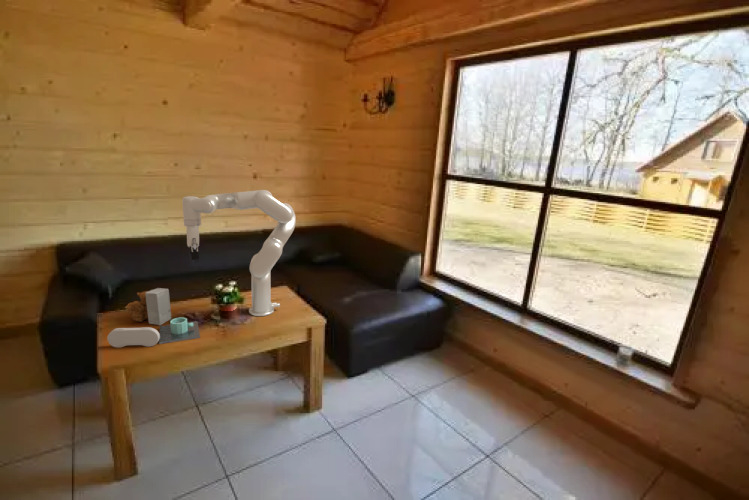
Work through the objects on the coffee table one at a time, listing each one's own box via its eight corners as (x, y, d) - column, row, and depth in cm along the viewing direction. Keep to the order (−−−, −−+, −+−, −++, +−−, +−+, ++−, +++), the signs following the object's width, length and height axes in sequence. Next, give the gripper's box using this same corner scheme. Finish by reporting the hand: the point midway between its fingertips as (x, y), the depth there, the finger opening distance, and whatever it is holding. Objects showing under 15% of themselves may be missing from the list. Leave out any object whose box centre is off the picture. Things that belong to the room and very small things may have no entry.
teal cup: (171, 328, 176) (170, 318, 174) (193, 325, 180) (192, 315, 179) (171, 335, 170) (170, 324, 169) (193, 331, 174) (193, 321, 173)
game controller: (161, 343, 165) (159, 326, 162) (159, 346, 162) (157, 328, 160) (110, 345, 161) (108, 327, 159) (108, 348, 159) (105, 330, 157)
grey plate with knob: (197, 322, 185) (196, 313, 184) (199, 337, 171) (199, 327, 170) (159, 328, 178) (158, 318, 176) (159, 344, 164) (158, 333, 163)
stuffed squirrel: (164, 315, 191) (162, 290, 188) (138, 326, 178) (136, 300, 175) (150, 311, 194) (147, 286, 191) (123, 321, 182) (120, 296, 178)
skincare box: (160, 325, 180) (157, 294, 176) (146, 323, 181) (143, 292, 177) (172, 318, 188) (170, 288, 184) (160, 316, 189) (157, 286, 185)
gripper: (183, 219, 188) (185, 252, 193) (184, 226, 174) (186, 262, 178) (199, 218, 192) (201, 251, 196) (202, 225, 177) (204, 261, 181)
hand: (194, 256), depth 187 cm, fingers open, 9 cm apart
